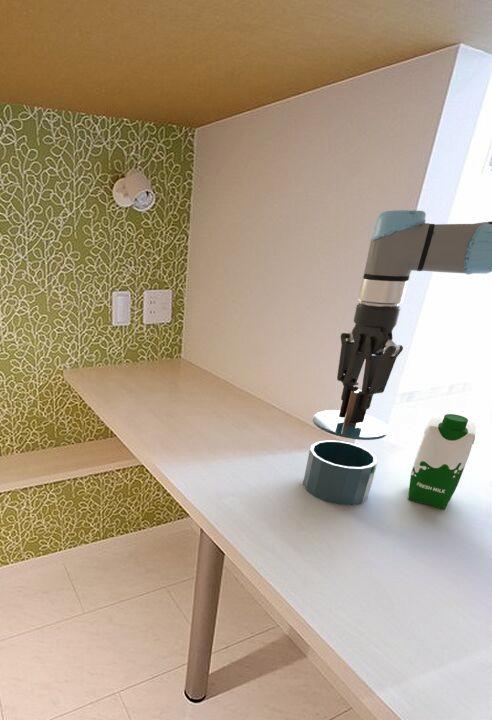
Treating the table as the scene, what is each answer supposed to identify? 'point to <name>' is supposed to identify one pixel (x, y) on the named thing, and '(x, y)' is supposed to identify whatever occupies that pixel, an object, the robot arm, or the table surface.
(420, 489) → the milk carton
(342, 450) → the jar
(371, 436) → the jar lid
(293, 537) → the table surface
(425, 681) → the table surface
